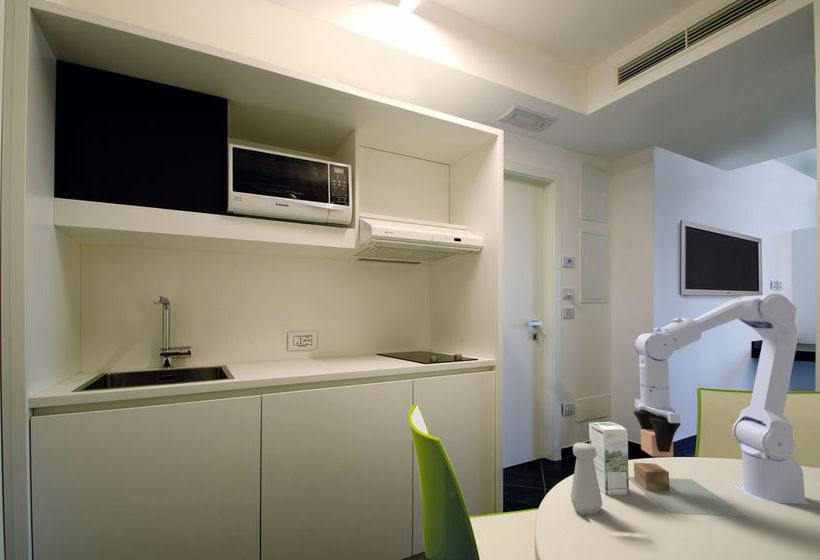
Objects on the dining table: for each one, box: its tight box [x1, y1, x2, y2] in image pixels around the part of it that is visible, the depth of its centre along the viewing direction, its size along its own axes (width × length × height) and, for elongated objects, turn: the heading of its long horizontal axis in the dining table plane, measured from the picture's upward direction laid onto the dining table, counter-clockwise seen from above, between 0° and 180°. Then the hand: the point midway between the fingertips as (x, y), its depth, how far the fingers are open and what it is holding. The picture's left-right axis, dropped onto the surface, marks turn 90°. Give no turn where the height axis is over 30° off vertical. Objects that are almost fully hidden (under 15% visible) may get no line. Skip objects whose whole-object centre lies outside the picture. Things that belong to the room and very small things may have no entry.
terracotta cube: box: [640, 428, 674, 458], centre depth 88 cm, size 4×4×4 cm
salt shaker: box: [570, 442, 603, 517], centre depth 78 cm, size 6×6×13 cm
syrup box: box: [588, 421, 630, 496], centre depth 87 cm, size 6×6×14 cm
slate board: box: [629, 476, 749, 517], centre depth 84 cm, size 15×17×1 cm
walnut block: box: [633, 462, 670, 491], centre depth 88 cm, size 5×5×4 cm
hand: (657, 447), depth 87 cm, fingers closed on terracotta cube, 4 cm apart
